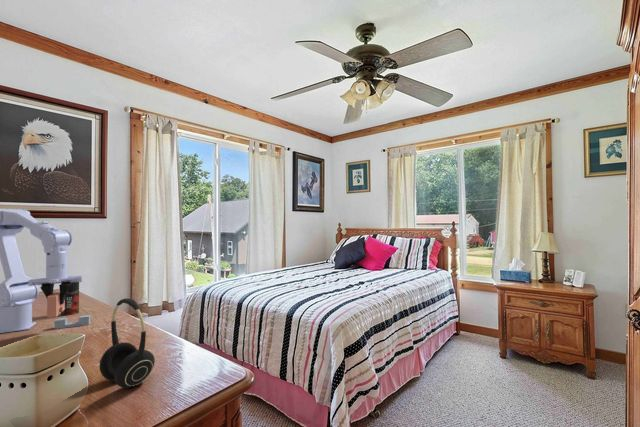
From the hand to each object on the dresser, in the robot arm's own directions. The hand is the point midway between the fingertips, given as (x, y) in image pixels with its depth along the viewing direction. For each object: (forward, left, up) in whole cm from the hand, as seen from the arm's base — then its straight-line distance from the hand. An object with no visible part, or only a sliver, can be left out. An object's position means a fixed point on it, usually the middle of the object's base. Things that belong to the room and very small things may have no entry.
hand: (56, 304), depth 108 cm
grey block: (+3, +6, -10) cm, 12 cm away
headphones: (+25, -51, -10) cm, 57 cm away
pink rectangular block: (0, 0, -3) cm, 3 cm away
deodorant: (-2, +26, -10) cm, 28 cm away
